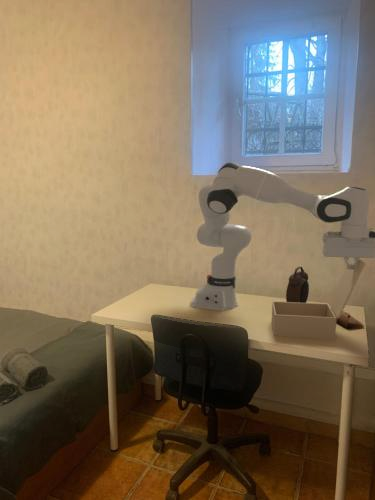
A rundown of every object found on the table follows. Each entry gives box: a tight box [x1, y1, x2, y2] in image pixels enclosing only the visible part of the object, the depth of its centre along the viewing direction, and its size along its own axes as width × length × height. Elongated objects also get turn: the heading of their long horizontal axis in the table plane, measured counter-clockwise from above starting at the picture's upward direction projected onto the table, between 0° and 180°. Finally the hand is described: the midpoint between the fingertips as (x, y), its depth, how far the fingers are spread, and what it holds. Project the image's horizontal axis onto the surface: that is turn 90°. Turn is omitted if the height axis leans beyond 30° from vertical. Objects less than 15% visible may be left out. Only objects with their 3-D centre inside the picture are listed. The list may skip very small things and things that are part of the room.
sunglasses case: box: [330, 307, 365, 330], centre depth 161 cm, size 18×7×7 cm
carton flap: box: [327, 258, 366, 318], centre depth 144 cm, size 22×16×1 cm
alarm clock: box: [285, 266, 310, 303], centre depth 176 cm, size 14×7×20 cm, turn 144°
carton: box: [271, 300, 337, 342], centre depth 149 cm, size 22×16×10 cm
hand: (350, 269), depth 140 cm, fingers closed
